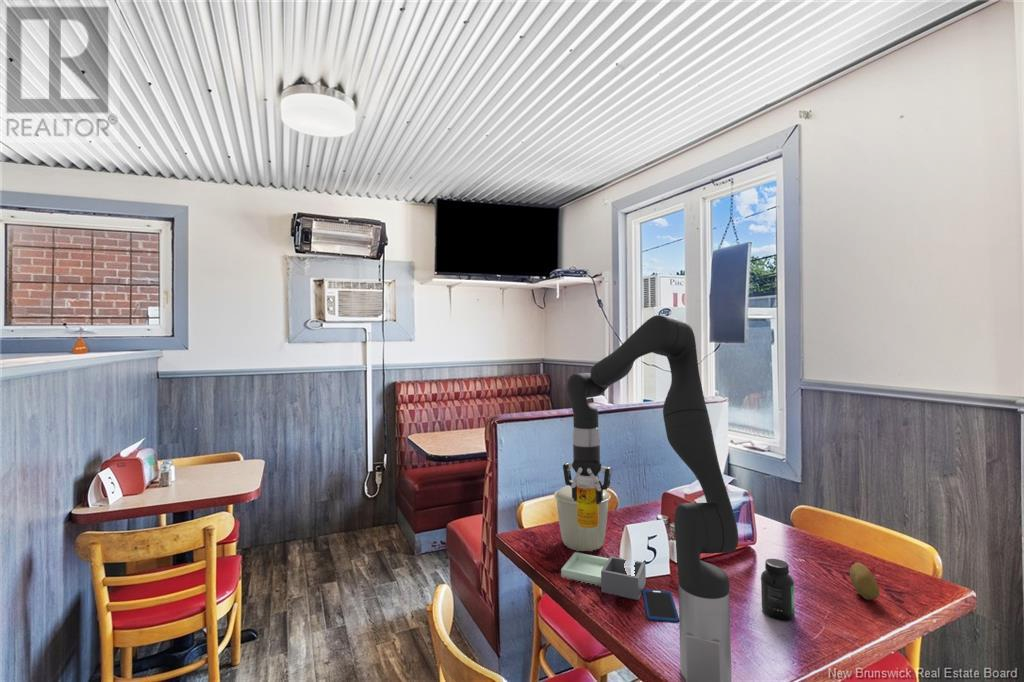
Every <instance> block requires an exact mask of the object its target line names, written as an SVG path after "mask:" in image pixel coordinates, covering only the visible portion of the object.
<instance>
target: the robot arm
mask: <svg viewBox="0 0 1024 682" xmlns="http://www.w3.org/2000/svg"><path fill="white" fill-rule="evenodd" d="M652 353H653V354H656V355H659V356H664V357H666V359H667V361H668V364H669V369H670V374H671V377H670V378H671V383H670V385H669V386H670V387H669V389H668V391H667V394H666V397H665V400H664V403H663V407H662V415H663V422H664V423H663V424H664V429H665V433H666V437H667V438H666V439H667V441H668V444H669V445H670V447H671V448H672V449H673V451H674V452H675V453H676V455H678V457H679V458H680V460H682V461H683V463H684V464H685V465H686V466H687V467H688V468H689V469H690V471H691V472H692V474H693V475H694V476H695V478H696V479H697V481H698V482H699V485H700V487H701V489H702V492H703V495H704V497H705V500H706V501H705V502H683V503H680V504H678V505H677V506H676V508H675V511H674V517H673V518H674V519H673V520H674V521H673V526H674V528H673V529H674V540H675V553H676V566H677V567H676V568H677V577H678V579H677V580H678V616H679V623H678V624H679V626H678V627H679V661H680V662H679V665H680V666H679V667H680V674H681V677H682V678H683V679H684V680H685V682H732V656H731V655H732V650H731V647H732V645H731V642H732V641H731V605H730V604H731V602H730V601H731V599H730V598H731V597H730V596H731V595H730V593H731V592H730V580H729V575H728V574H727V572H725V570H723V569H722V568H721V567H718V566H717V565H714V564H712V563H709V562H705V561H703V560H701V557H700V556H701V554H704V555H705V554H730V553H733V552H735V551H736V550H737V548H738V546H739V531H738V524H737V520H736V516H735V513H734V509H733V506H732V503H731V499H730V497H729V494H728V490H727V487H726V484H725V481H724V477H723V475H722V471H721V466H720V463H719V459H718V455H717V449H716V445H715V441H714V439H715V438H714V435H713V430H712V429H713V428H712V424H711V421H710V416H709V412H708V408H707V404H706V400H705V396H704V391H703V386H702V381H701V376H700V375H701V374H700V371H699V362H698V353H697V344H696V338H695V334H694V330H693V328H692V326H691V325H690V324H689V323H687V322H686V321H683V320H680V319H679V318H678V319H677V318H675V317H671V316H668V315H664V314H657V315H653V316H652V317H650V318H648V319H646V321H645V322H643V323H642V324H641V325H640V326H639V327H638V328H637V330H635V331H634V332H633V333H632V334H631V335H630V336H629V337H628V338H627V339H626V340H625V341H624V342H623V343H622V344H621V345H620V346H619V347H617V349H615V350H614V351H612V352H611V353H610V354H609V355H607V356H605V357H603V358H602V359H601V360H599V361H597V362H596V363H594V364H593V366H592V367H591V369H590V372H582V373H581V372H579V373H578V372H575V373H572V374H571V375H570V376H569V378H568V380H567V382H566V390H567V394H568V395H567V396H568V399H569V402H570V407H571V408H572V409H571V410H572V414H573V430H572V431H573V432H572V448H573V449H572V452H573V456H572V457H573V461H572V462H570V463H569V462H565V463H564V464H562V470H563V478H564V484H565V486H571V487H572V498H573V499H574V501H577V486H576V484H577V483H576V482H577V477H578V475H584V476H593V477H592V478H593V479H594V484H595V486H596V488H597V491H596V502H597V504H600V503H601V502H602V501H603V490H605V491H607V490H608V489H609V488H610V486H611V479H612V478H611V477H612V467H611V466H603V465H602V464H601V449H600V447H601V445H600V444H601V439H600V436H601V435H600V430H599V411H598V408H597V407H595V406H593V405H589V404H588V403H589V402H588V401H587V398H593V397H597V396H600V395H602V394H603V393H605V391H606V390H607V389H609V387H610V386H611V385H613V384H615V383H617V382H618V381H620V380H622V379H623V378H625V377H626V376H628V375H629V373H630V371H632V369H633V366H634V363H635V361H637V359H639V358H641V357H643V356H645V355H648V354H649V355H650V354H652ZM572 469H573V471H574V472H575V476H574V477H573V480H572V472H571V471H572ZM600 471H601V472H602V475H604V477H603V482H602V481H601V477H600V475H599V473H600ZM596 476H597V477H598V479H596Z"/></svg>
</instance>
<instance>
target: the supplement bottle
mask: <svg viewBox="0 0 1024 682" xmlns="http://www.w3.org/2000/svg"><path fill="white" fill-rule="evenodd" d="M764 565H765V566H764V567H765V568H764V569H765V570H764V571H762V572H761V574H760V584H761V586H760V591H761V610H762V612H763V613H764V614H765V615H766V616H767V617H769V618H771V619H774V620H776V621H780V622H784V621H785V622H788V621H792V620H793V619H794V618H795V613H796V612H795V610H796V608H795V581H794V579H793V577H792V576H791V575H790V574H789V573H790V570H789V569H790V568H789V564H788V562H786V561H784V560H783V559H782V560H781V559H779V558H778V559H777V558H767V559H766V560H765V562H764Z"/></svg>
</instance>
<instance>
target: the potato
mask: <svg viewBox="0 0 1024 682" xmlns="http://www.w3.org/2000/svg"><path fill="white" fill-rule="evenodd" d="M849 577H850V578H849V579H850V582H851V584H852V586H853V588H854V590H855V591H856V592H857V593H858V594H859V595H860V596H862V598H864V599H865V600H867V601H869V600H872V601H873V600H876V599H878V598H879V596H880V587H879V584H878V582H877V580H876V579H875V576H874V575H873V574H872V572H871V571H870V569H869V568H868V567H867V566H865V565H864V564H863V563H861V562H855V563H854V564H852V565H851V566H850V570H849Z"/></svg>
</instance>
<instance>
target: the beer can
mask: <svg viewBox="0 0 1024 682" xmlns="http://www.w3.org/2000/svg"><path fill="white" fill-rule="evenodd" d="M592 477H593V476H584V475H578V477H577V482H576V483H577V484H576V486H577V524H578V526H579V527H580V528H581V529H584V530H594V529H596V528H597V526H598V525H599V507H598V504H597V502H596V491H597V488H596V486H595V484H594V479H593V478H592ZM596 479H598V477H597V476H596Z"/></svg>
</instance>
